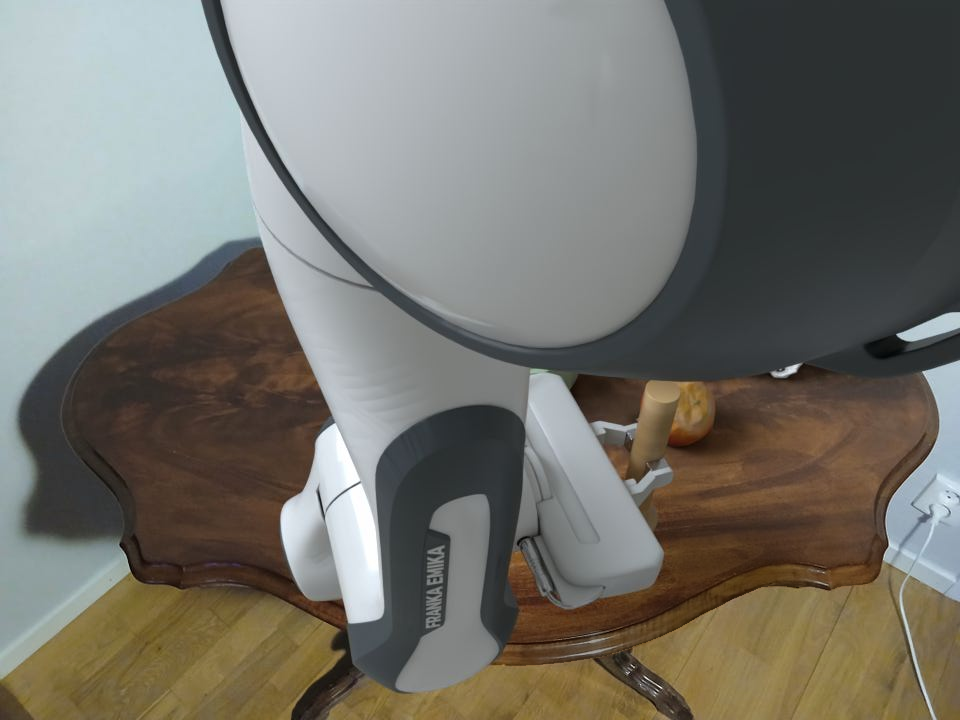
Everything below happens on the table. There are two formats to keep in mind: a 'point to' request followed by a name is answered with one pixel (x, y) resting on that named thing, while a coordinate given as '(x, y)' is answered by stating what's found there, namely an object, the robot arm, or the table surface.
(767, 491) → the table surface
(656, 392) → the muddler
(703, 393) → the fruit
